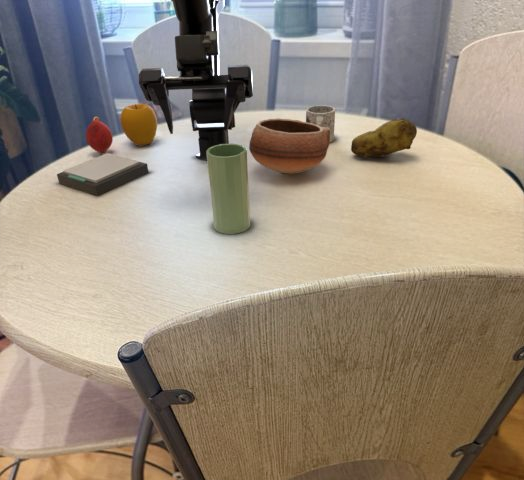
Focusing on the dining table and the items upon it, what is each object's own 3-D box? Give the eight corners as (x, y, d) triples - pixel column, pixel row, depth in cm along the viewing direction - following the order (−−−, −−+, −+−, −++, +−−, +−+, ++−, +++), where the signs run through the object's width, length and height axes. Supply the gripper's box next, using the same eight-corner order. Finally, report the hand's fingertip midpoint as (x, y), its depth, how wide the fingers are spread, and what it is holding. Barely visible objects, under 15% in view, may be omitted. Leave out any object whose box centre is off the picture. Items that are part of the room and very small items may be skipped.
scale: (110, 162, 119) (108, 150, 117) (148, 172, 113) (146, 160, 111) (59, 183, 110) (55, 171, 108) (97, 196, 104) (94, 183, 103)
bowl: (341, 168, 111) (344, 118, 105) (292, 192, 102) (292, 139, 96) (285, 152, 120) (284, 105, 113) (235, 173, 111) (232, 123, 105)
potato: (359, 147, 121) (362, 110, 115) (416, 154, 116) (422, 116, 111) (347, 159, 115) (349, 121, 110) (405, 168, 110) (411, 128, 105)
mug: (306, 134, 129) (307, 105, 125) (334, 134, 128) (335, 105, 124) (303, 148, 121) (303, 118, 117) (332, 149, 120) (334, 118, 116)
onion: (109, 158, 121) (101, 121, 115) (85, 157, 122) (76, 120, 116) (119, 149, 125) (112, 113, 120) (96, 148, 126) (88, 113, 121)
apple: (143, 135, 133) (137, 97, 127) (168, 140, 129) (162, 101, 123) (117, 145, 127) (109, 106, 122) (142, 151, 123) (135, 111, 118)
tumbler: (229, 214, 96) (223, 141, 88) (257, 223, 93) (254, 147, 85) (206, 228, 92) (198, 152, 84) (235, 237, 89) (229, 160, 81)
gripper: (129, 12, 83) (130, 109, 82) (249, 7, 82) (251, 104, 81) (146, 56, 94) (147, 142, 93) (251, 52, 94) (254, 138, 92)
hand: (198, 131), depth 90 cm, fingers open, 9 cm apart
